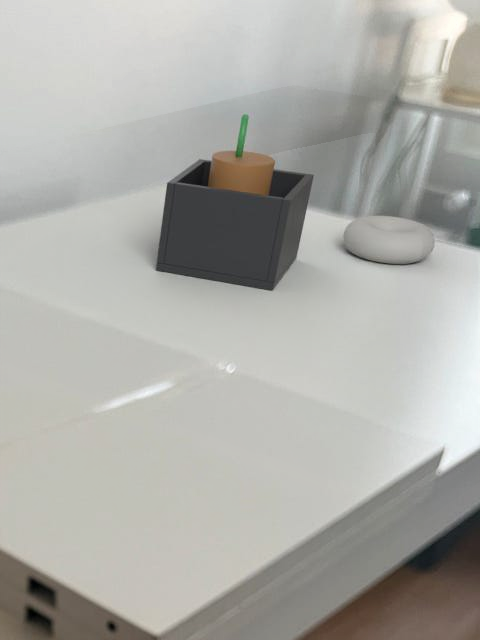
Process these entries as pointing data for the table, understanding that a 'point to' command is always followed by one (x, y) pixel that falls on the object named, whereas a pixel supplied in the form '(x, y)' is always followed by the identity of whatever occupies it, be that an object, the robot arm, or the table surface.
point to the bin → (232, 228)
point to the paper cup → (241, 168)
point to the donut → (389, 239)
